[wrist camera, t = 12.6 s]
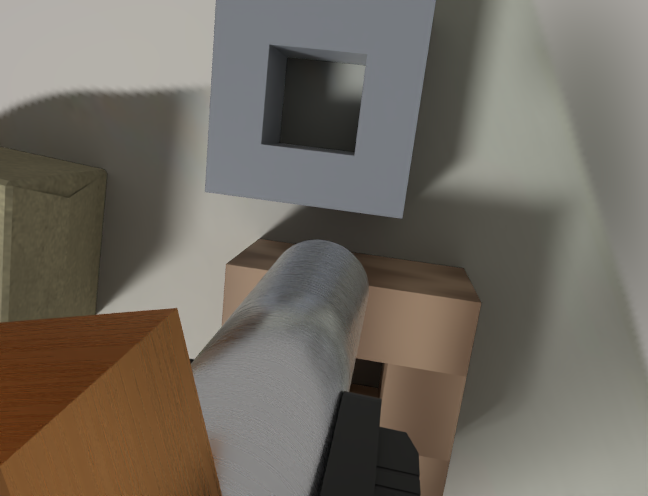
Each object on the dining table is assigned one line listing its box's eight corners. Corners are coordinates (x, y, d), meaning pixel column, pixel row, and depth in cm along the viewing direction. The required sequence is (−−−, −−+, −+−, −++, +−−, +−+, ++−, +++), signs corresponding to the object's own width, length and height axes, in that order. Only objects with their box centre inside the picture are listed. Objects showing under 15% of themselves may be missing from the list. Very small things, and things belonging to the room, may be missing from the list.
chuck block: (243, 417, 32) (211, 478, 27) (259, 238, 30) (226, 264, 24) (429, 451, 31) (437, 524, 25) (463, 268, 28) (481, 302, 22)
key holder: (230, 184, 29) (204, 191, 25) (243, -1, 27) (217, -24, 23) (401, 207, 28) (402, 218, 24) (430, 16, 26) (436, -5, 22)
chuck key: (250, 178, 14) (-358, 472, 3) (352, 165, 14) (88, 464, 2) (289, 392, 16) (7, 1089, 5) (382, 388, 16) (312, 1173, 4)
